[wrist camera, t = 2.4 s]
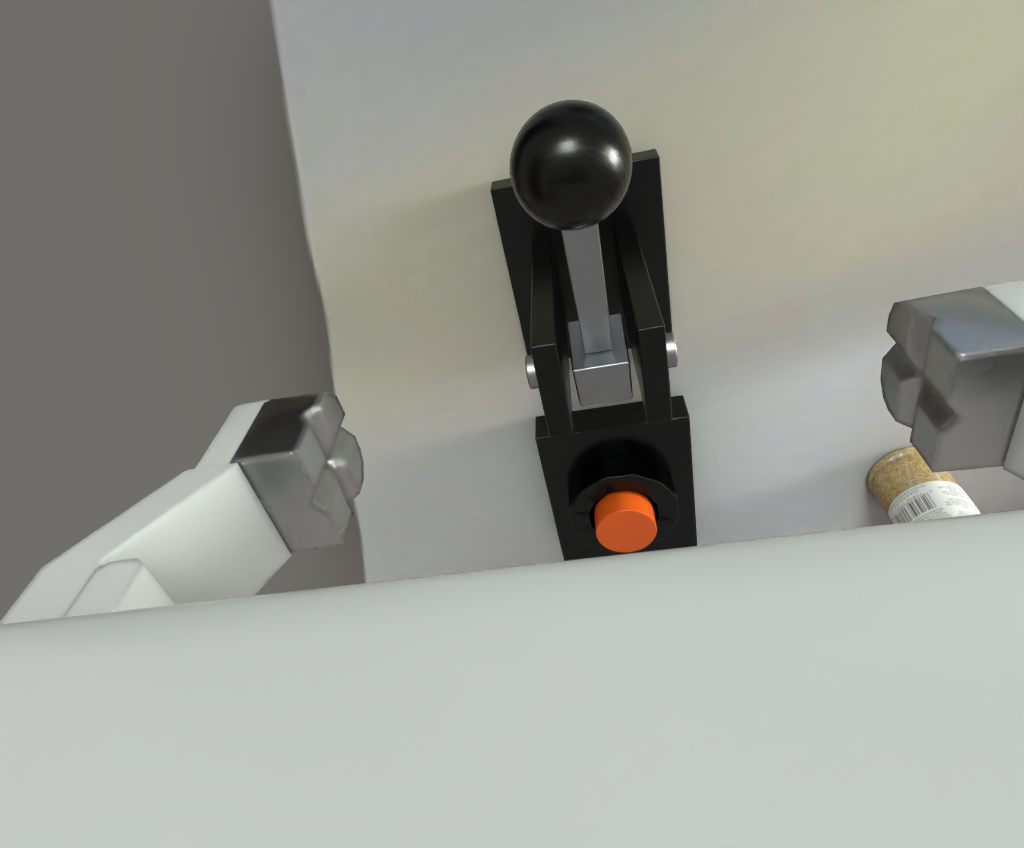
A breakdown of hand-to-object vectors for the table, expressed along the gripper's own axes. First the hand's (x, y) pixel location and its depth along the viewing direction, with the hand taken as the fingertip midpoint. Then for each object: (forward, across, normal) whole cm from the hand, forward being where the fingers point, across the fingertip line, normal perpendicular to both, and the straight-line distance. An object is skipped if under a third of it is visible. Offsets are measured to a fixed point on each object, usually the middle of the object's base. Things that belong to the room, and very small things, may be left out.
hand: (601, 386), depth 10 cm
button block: (+25, 0, +24) cm, 35 cm away
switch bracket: (+25, 0, +9) cm, 27 cm away
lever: (+14, 0, +4) cm, 15 cm away
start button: (+21, 0, +24) cm, 32 cm away
